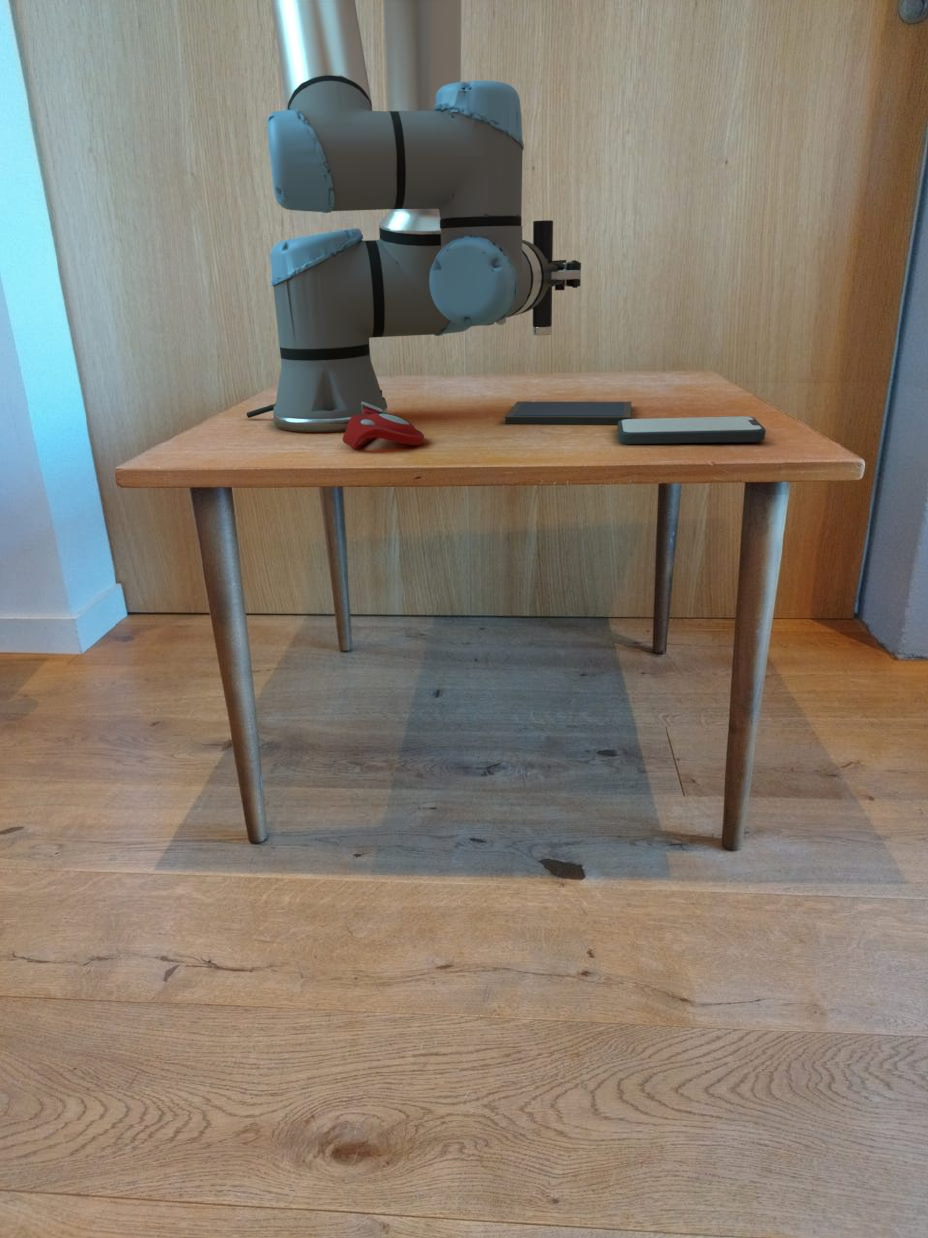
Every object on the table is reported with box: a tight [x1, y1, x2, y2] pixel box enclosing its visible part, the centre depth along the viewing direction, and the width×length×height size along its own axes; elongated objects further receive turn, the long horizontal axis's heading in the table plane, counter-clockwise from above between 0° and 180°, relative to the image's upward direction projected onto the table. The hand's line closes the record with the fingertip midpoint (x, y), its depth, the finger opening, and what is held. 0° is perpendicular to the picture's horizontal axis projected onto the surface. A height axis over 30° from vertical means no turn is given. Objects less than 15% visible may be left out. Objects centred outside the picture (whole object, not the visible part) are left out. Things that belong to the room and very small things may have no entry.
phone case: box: [617, 415, 767, 445], centre depth 95 cm, size 9×2×16 cm
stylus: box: [532, 219, 554, 336], centre depth 101 cm, size 2×2×13 cm
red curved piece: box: [342, 402, 425, 450], centre depth 97 cm, size 12×4×10 cm
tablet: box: [504, 400, 632, 426], centre depth 110 cm, size 16×12×1 cm
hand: (551, 271), depth 106 cm, fingers closed on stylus, 2 cm apart
